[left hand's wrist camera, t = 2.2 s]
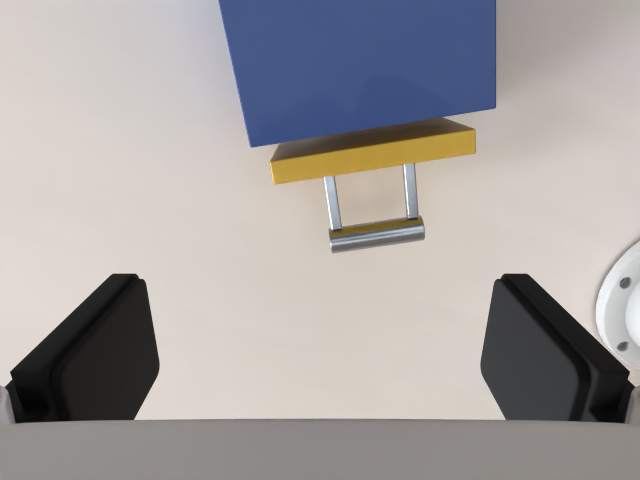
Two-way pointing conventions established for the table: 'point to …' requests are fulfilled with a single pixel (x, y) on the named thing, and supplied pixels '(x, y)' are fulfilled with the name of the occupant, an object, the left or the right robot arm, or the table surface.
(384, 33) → the blue box
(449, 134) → the drawer
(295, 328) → the table surface
